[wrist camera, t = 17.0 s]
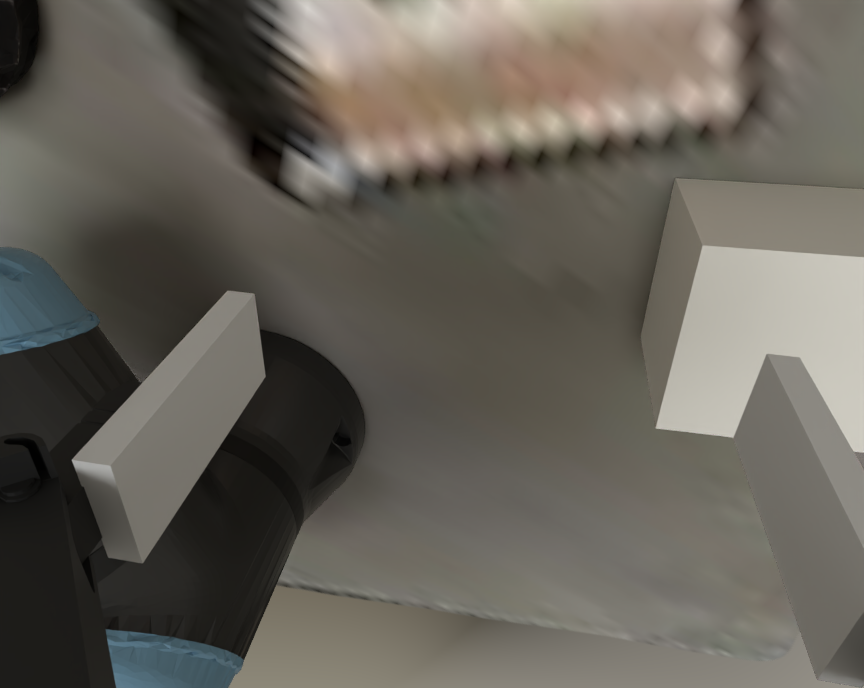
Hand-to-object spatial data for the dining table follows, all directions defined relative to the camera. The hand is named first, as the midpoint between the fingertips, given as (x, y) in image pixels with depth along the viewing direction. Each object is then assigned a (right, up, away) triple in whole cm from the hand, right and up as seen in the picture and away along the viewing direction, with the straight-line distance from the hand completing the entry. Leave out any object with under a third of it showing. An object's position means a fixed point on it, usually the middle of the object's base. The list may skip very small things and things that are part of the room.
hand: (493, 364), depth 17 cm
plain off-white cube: (+16, +5, +19) cm, 26 cm away
